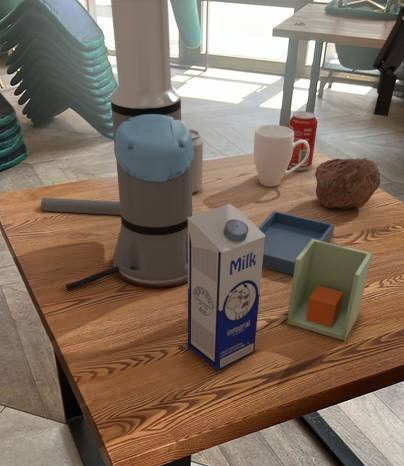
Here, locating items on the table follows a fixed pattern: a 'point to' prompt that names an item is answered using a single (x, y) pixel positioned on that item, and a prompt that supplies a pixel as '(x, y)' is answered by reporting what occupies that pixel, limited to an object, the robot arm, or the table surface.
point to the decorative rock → (346, 182)
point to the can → (197, 161)
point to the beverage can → (303, 138)
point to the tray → (289, 239)
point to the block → (324, 306)
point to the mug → (274, 153)
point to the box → (329, 284)
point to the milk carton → (223, 284)
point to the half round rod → (81, 206)
